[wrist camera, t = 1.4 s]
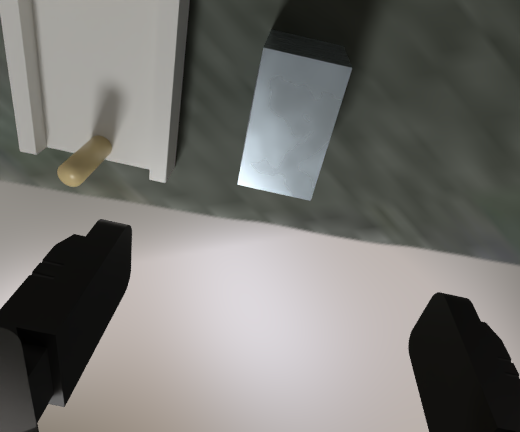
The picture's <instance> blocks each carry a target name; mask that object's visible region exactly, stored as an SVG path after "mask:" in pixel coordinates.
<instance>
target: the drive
mask: <svg viewBox="0 0 520 432" xmlns="http://www.w3.org/2000/svg"><path fill="white" fill-rule="evenodd" d="M351 71H352V66H351V63H350V61H349V58H348V56H347V53H346V51H345V48H344V46H341V45H337V44H332V43H328V42H324V41H320V40H315V39H311V38H307V37H302V36H298V35H294V34H289V33H285V32H281V31H276V30H272V29H271V31H270V34H269V36H268V38H267V41H266V43H265V45H264V47H263V53H262V58H261V63H260V65H259V70H258V75H257V80H256V85H255V91H254V96H253V101H252V106H251V112H250V117H249V122H248V128H247V133H246V138H245V143H244V149H243V154H242V159H241V165H240V167H241V168H240V173H239V179H238V184H237V185H242V186H247V187H251V188H256V189H260V190H265V191H269V192H274V193H278V194H283V195H287V196H292V197H297V198H301V199H306V200H310V201H311V198H312V195H313V192H314V188H315V185H316V182H317V179H318V176H319V173H320V169H321V166H322V163H323V160H324V157H325V153H326V150H327V147H328V144H329V141H330V137H331V134H332V131H333V128H334V125H335V122H336V118H337V115H338V112H339V109H340V106H341V102H342V99H343V96H344V93H345V90H346V86H347V83H348V80H349V77H350V74H351Z"/></svg>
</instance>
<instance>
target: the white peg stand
mask: <svg viewBox="0 0 520 432" xmlns="http://www.w3.org/2000/svg"><path fill="white" fill-rule="evenodd" d="M189 4H190V0H0V15H1V22H2V29H3V36H4V43H5V50H6V57H7V64H8V71H9V78H10V85H11V92H12V99H13V106H14V113H15V120H16V126H17V133H18V140H19V147H20V151H21V152H26V153H30V154H35V155H37V154H38V153H39V152H41V151H42V150H43V149H45V148H46V147H49V148H54V149H59V150H63V151H68V152H72V153H74V154H73V155H72V156H71V157H69V158H68V159H67V160H66V161H65V162H64V163H63V164H61V165H60V166H59V168H58V170H57V173H58V177H59V178H60V180H61V181H62V182H63V183H64V184H66V185H68V186H72V187H76V186H79V185H80V184H81V183H82V182H83V181H84V180H85V179H86V178H87V177H88V176H89V175H90V174H91V173H92V172H93V171H94V170H95V169H96V168H97V167H98V166H99V165H100V164H101V163H102V162H103V161H104V160H109V161H113V162H118V163H122V164H127V165H132V166H136V167H141V168H145V169H150V177H149V179H150V180H154V181H159V182H163V183H166V181H167V179H168V178H169V176H170V174H171V173H172V171H173V169H174V168H175V160H176V149H177V138H178V127H179V116H180V104H181V93H182V82H183V71H184V60H185V49H186V37H187V26H188V15H189Z"/></svg>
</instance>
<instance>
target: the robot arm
mask: <svg viewBox="0 0 520 432" xmlns="http://www.w3.org/2000/svg"><path fill="white" fill-rule="evenodd" d="M131 242H132V229H131V226H130V225H126V224H121V223H117V222H112V221H107V220H103V219H100V220H99V221H97V223H96V224H95V225H94V226H93V228H92V229H91V230H90V232H89V233H88V234H87V236H86V237H85V236H80V235H76V234H74V235H72V236H70V237H69V238H67V239H65V240H63V241H61V242H60V243H58V244H56V245H55V246H54V247H53V248H52V249H51V251H50V252H49V253H48V254H47V255H46V256H45V258H44V259H43V261H42V263H39V265H38V266H37V267H36V268H35V269H34V271H33V272H32V275H29V276H28V278H27V279H26V280H25V281H24V283H22V285H21V286H20V287H19V288H18V289H17V290H16V292H15V293H14V294H13V295H12V296H11V297H10V299H9V300H8V301H7V302H6V303H5V304H4V306H3V307H2V308H1V309H0V432H39V430H38V425H37V423H38V421H39V419H40V417H41V415H42V414H43V412H44V410H45V409H46V407H47V405H48V404H52V405H58V406H62V407H65V405H66V403H67V401H68V399H69V398H70V396H71V394H72V392H73V390H74V388H75V386H76V384H77V382H78V381H79V379H80V377H81V375H82V373H83V371H84V369H85V367H86V365H87V364H88V362H89V359H90V358H91V356H92V354H93V352H94V350H95V348H96V346H97V345H98V343H99V341H100V339H101V337H102V335H103V333H104V331H105V329H106V328H107V325H108V323H109V322H110V320H111V318H112V316H113V314H114V312H115V311H116V308H117V307H118V305H119V303H120V301H121V299H122V297H123V295H124V293H125V291H126V289H127V286H128V282H129V279H130V273H131V245H132V243H131ZM409 355H410V359H411V363H412V366H413V371H414V375H415V379H416V383H417V386H418V390H419V394H420V398H421V402H422V406H423V409H424V413H425V417H426V421H427V425H428V429H429V432H520V379H519V373H518V372H517V370H516V368H515V366H514V364H513V363H511V358H510V356H509V354H508V352H507V350H506V348H505V346H504V344H503V342H502V340H501V339H500V338H499V337H498V336H497V335H496V333H495V332H494V331H493V330H492V329H491V328H490V327H489V326H488V325H487V324H486V323H485V322H481V321H480V319H479V317H478V315H477V312H476V310H475V308H474V306H473V304H472V303H471V301H470V300H469V299H467V298H463V297H458V296H453V295H449V294H444V293H436V294H434V295H433V296H432V298H431V300H430V301H429V303H428V305H427V307H426V308H425V310H424V311H423V313H422V315H421V316H420V318H419V320H418V321H417V323H416V325H415V326H414V328H413V330H412V332H411V334H410V338H409Z"/></svg>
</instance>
